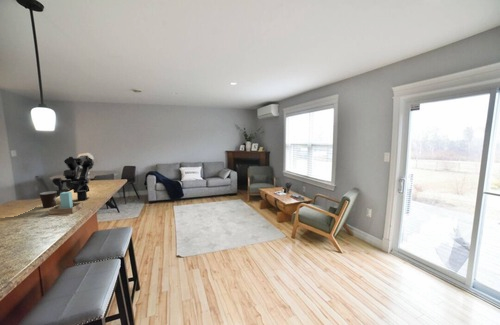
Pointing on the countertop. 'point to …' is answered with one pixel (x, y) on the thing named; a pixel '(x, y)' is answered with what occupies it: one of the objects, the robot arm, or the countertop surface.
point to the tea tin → (66, 200)
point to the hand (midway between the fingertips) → (68, 191)
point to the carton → (65, 210)
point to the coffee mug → (48, 199)
